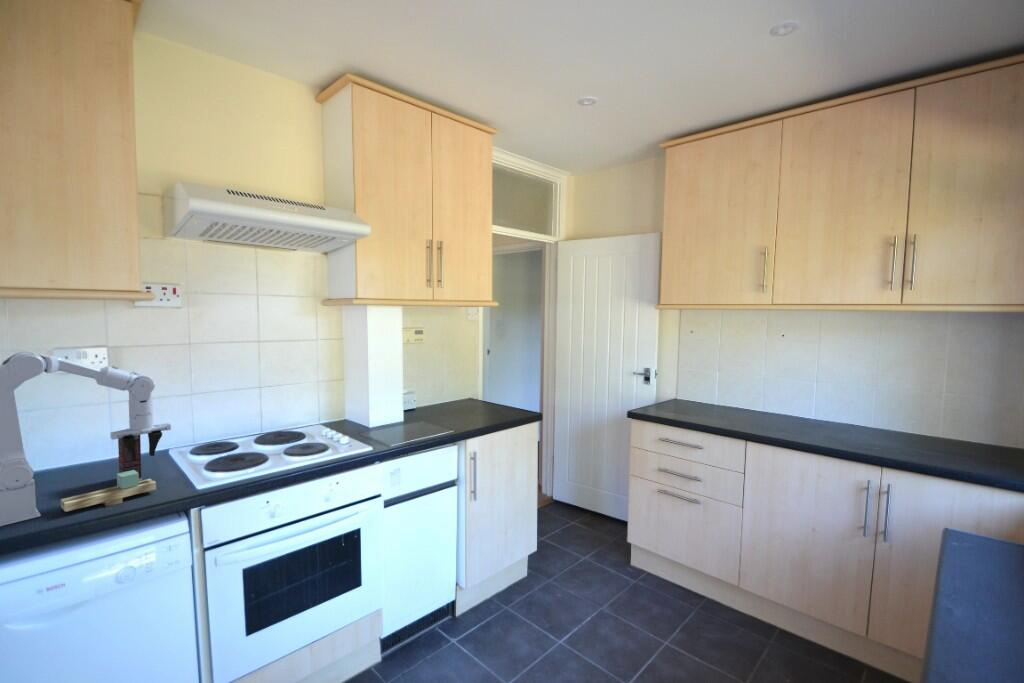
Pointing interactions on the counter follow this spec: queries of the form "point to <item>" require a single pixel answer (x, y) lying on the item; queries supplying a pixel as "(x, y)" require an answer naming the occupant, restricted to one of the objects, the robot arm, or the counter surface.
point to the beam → (106, 496)
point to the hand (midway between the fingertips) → (142, 457)
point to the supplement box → (125, 458)
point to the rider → (127, 479)
